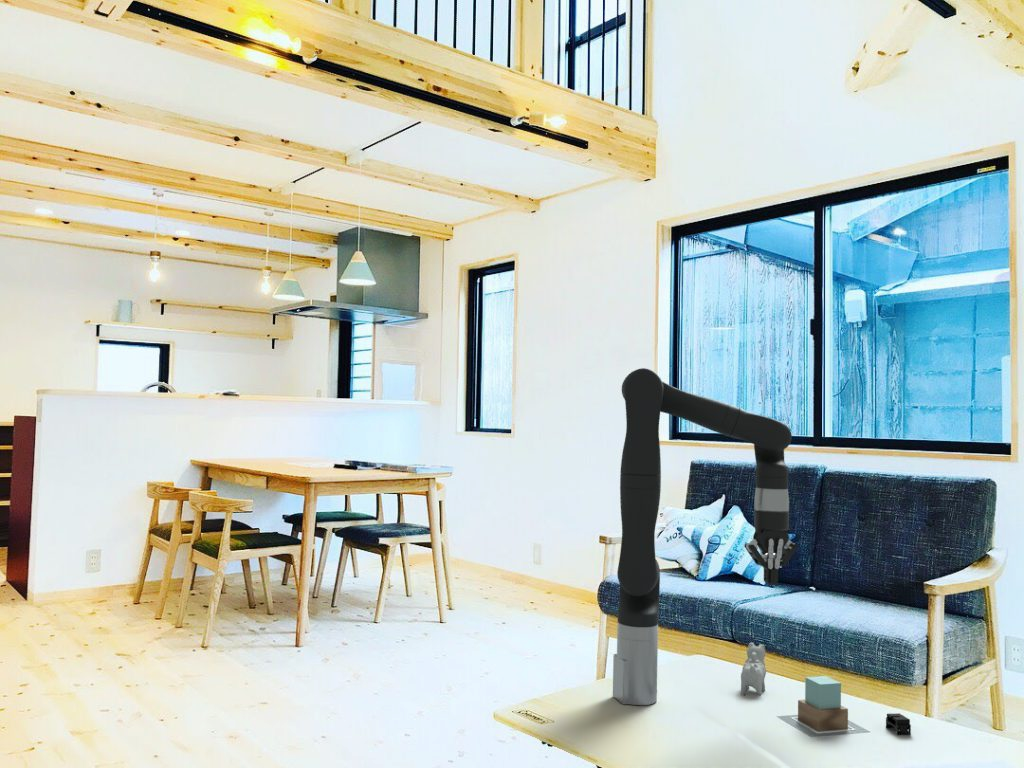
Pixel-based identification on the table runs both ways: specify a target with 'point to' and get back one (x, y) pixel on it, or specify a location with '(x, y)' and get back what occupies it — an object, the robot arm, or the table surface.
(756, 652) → the dog figurine
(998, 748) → the table surface
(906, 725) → the black stepped block
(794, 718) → the board
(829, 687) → the teal cube
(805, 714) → the walnut block
